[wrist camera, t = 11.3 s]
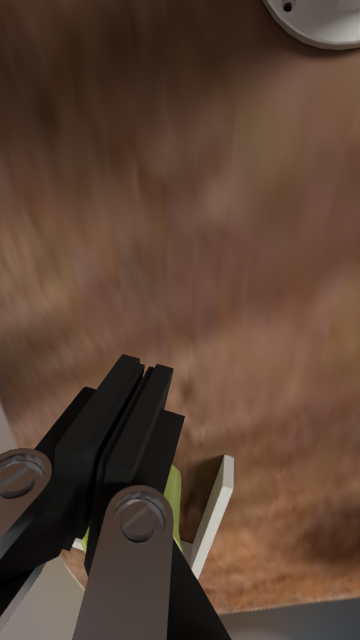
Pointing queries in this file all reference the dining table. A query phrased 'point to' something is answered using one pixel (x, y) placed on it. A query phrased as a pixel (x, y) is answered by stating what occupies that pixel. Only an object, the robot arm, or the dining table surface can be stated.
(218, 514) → the box
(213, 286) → the dining table surface
